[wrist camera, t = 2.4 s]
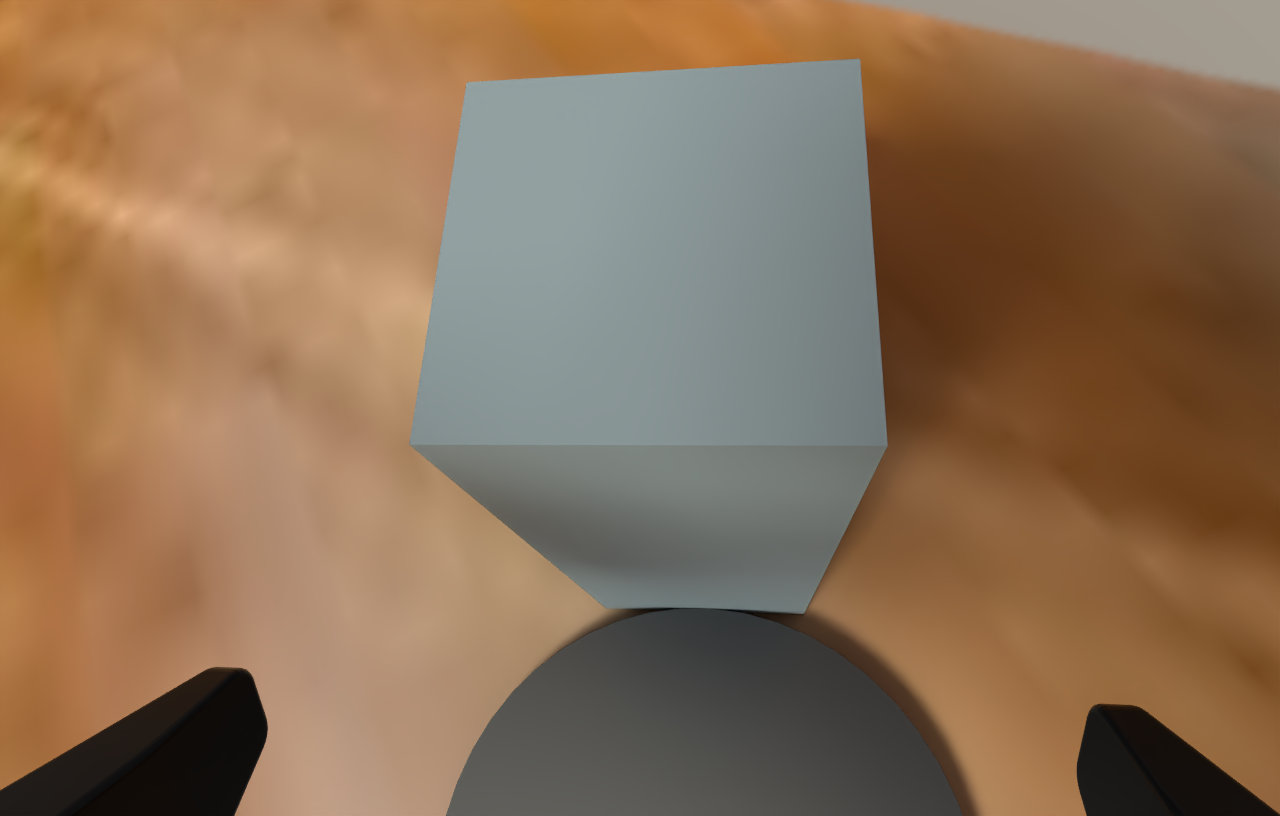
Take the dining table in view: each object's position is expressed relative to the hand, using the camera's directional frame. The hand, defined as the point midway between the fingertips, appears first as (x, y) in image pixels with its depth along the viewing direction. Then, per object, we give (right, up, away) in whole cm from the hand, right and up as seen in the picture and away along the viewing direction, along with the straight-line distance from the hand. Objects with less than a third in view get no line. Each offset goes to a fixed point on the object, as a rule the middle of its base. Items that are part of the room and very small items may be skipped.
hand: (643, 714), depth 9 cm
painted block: (+2, 0, +13) cm, 13 cm away
